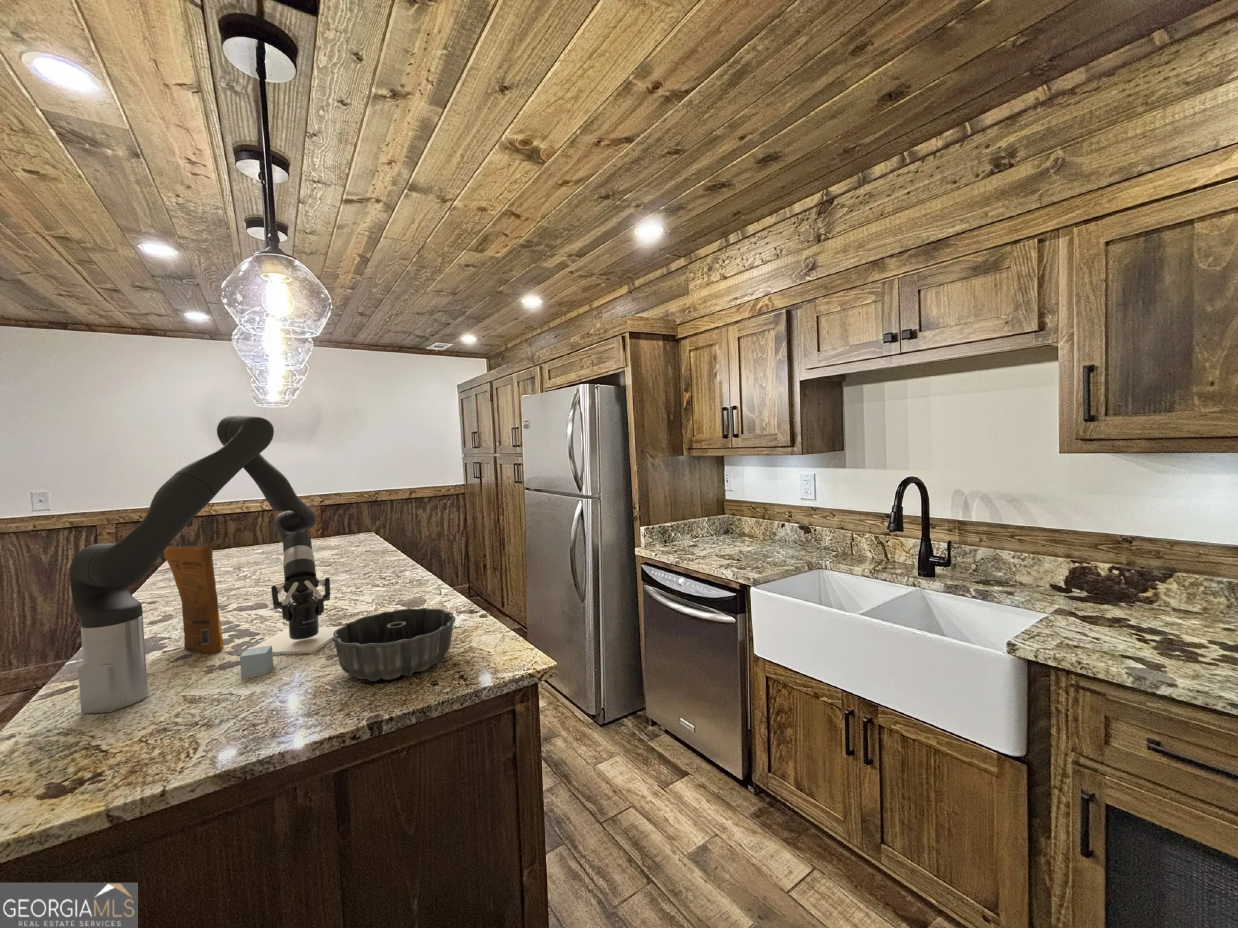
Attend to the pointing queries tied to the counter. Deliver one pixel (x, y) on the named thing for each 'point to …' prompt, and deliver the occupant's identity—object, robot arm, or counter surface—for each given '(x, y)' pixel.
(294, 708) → the counter surface
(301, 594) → the supplement bottle
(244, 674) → the blue block
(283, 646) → the mat
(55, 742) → the counter surface
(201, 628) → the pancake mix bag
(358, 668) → the bundt pan
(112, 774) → the counter surface
